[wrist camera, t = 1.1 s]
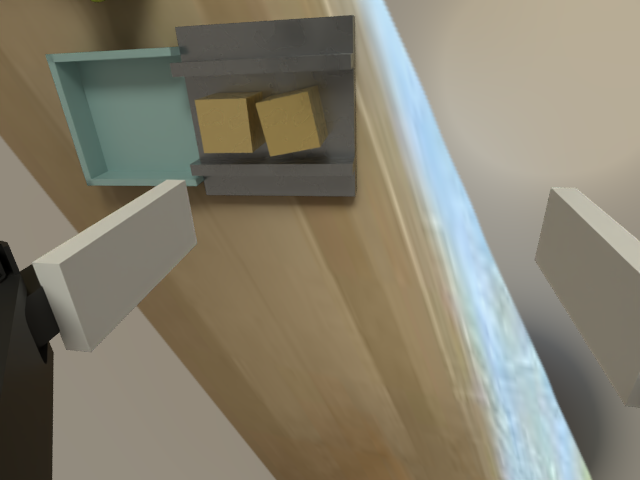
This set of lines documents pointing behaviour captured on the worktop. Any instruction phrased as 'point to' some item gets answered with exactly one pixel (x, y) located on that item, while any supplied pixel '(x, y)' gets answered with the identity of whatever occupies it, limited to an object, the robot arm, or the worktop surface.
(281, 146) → the wooden cube
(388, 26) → the worktop surface
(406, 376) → the worktop surface
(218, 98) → the wooden block
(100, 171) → the tray
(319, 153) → the slot board
